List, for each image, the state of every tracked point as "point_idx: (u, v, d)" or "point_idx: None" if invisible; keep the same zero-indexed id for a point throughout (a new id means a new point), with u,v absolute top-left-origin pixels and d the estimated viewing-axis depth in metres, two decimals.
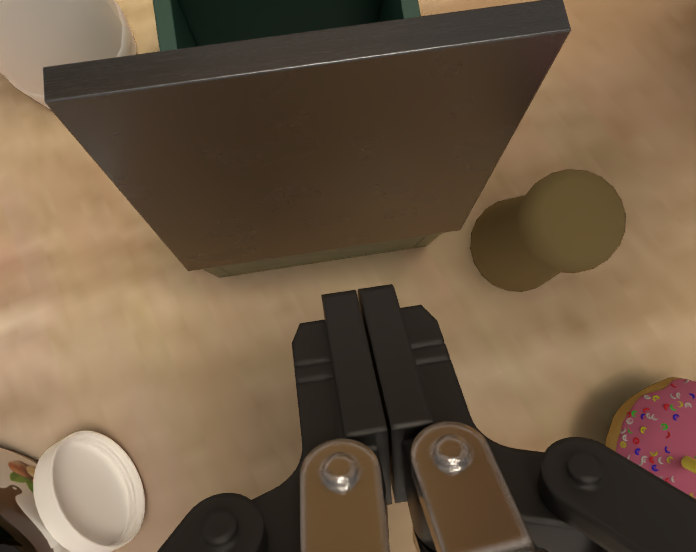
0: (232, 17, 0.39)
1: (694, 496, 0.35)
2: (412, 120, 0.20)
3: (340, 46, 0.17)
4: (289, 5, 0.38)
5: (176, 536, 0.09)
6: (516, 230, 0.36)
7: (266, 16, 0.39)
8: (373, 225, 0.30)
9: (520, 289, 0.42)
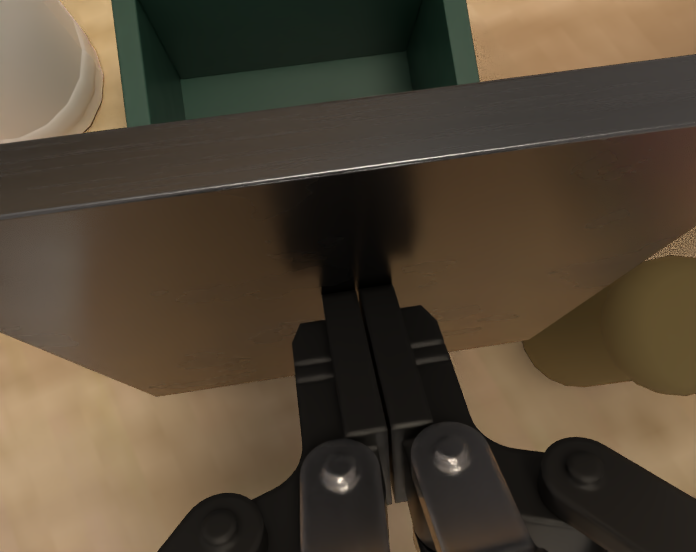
0: (222, 41, 0.30)
1: None
2: (517, 239, 0.12)
3: (418, 129, 0.08)
4: (296, 27, 0.30)
5: (176, 536, 0.09)
6: (594, 328, 0.27)
7: (267, 40, 0.31)
8: None
9: (584, 386, 0.33)
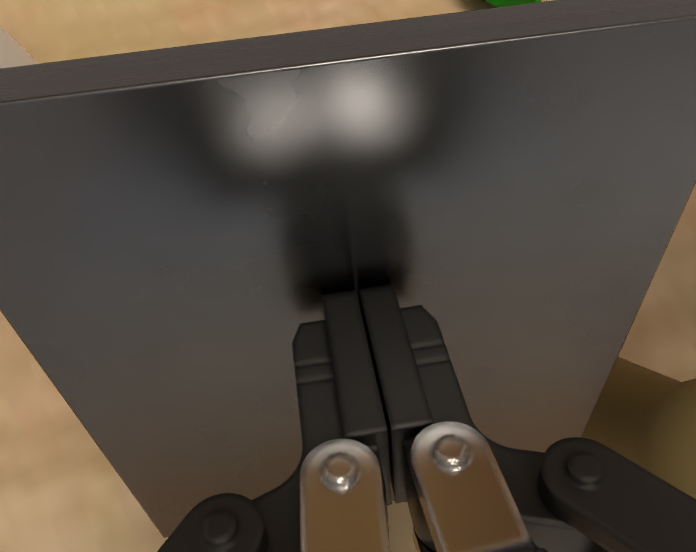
0: None
1: None
2: (502, 220, 0.13)
3: (384, 40, 0.10)
4: None
5: (176, 536, 0.09)
6: (629, 444, 0.26)
7: None
8: None
9: None
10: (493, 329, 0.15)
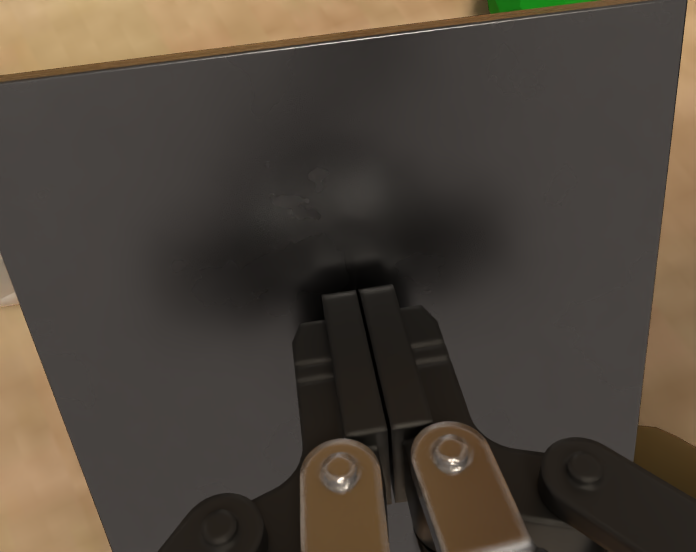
0: None
1: None
2: (489, 217, 0.14)
3: (365, 33, 0.12)
4: None
5: (176, 536, 0.09)
6: None
7: None
8: None
9: None
10: (500, 359, 0.15)
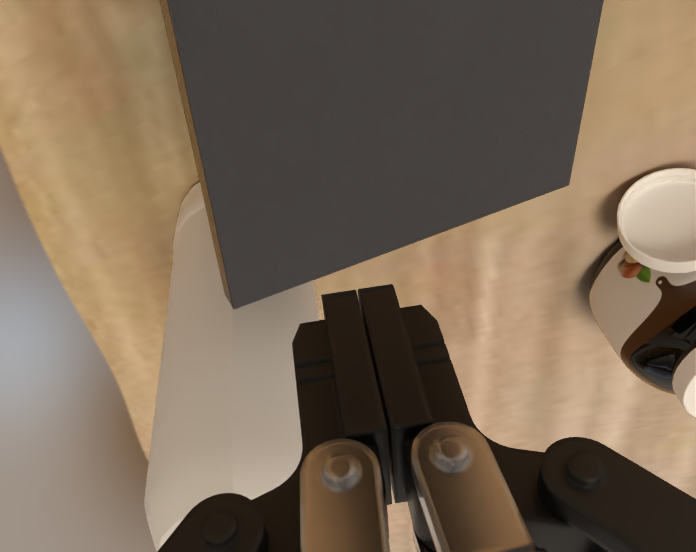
0: None
1: None
2: (301, 28, 0.20)
3: (190, 121, 0.20)
4: None
5: (176, 536, 0.09)
6: None
7: None
8: None
9: None
10: None
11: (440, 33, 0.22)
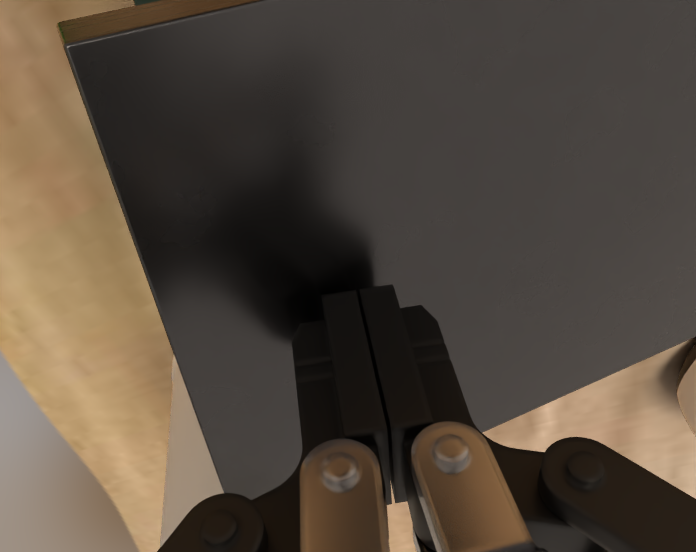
0: None
1: None
2: (343, 196, 0.12)
3: None
4: None
5: (176, 536, 0.09)
6: None
7: None
8: None
9: None
10: (505, 135, 0.13)
11: (558, 176, 0.14)
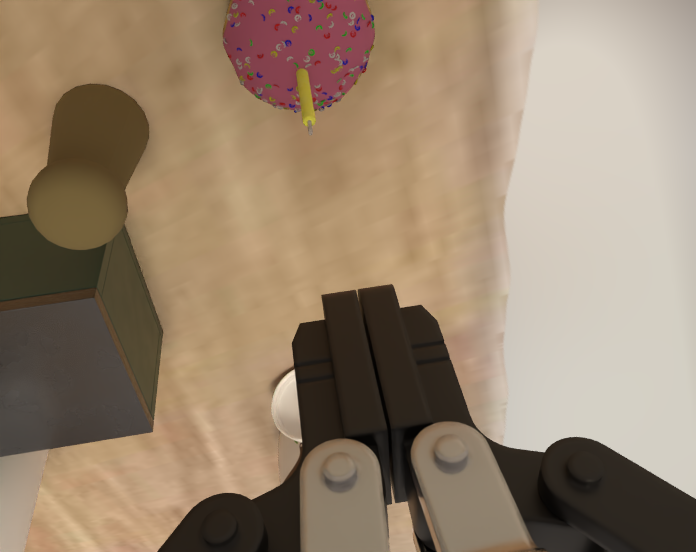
0: None
1: (334, 68, 0.37)
2: None
3: None
4: None
5: (176, 536, 0.09)
6: None
7: None
8: (71, 355, 0.43)
9: (146, 132, 0.44)
10: None
11: (3, 371, 0.43)
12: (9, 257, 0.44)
